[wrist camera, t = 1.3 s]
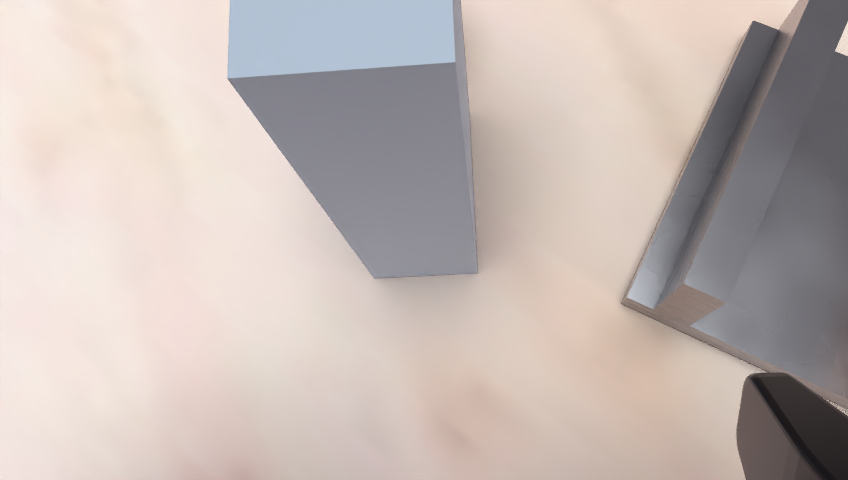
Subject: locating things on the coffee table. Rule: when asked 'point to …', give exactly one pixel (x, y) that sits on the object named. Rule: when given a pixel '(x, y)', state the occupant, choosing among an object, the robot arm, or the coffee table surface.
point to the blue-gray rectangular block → (368, 120)
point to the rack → (765, 210)
